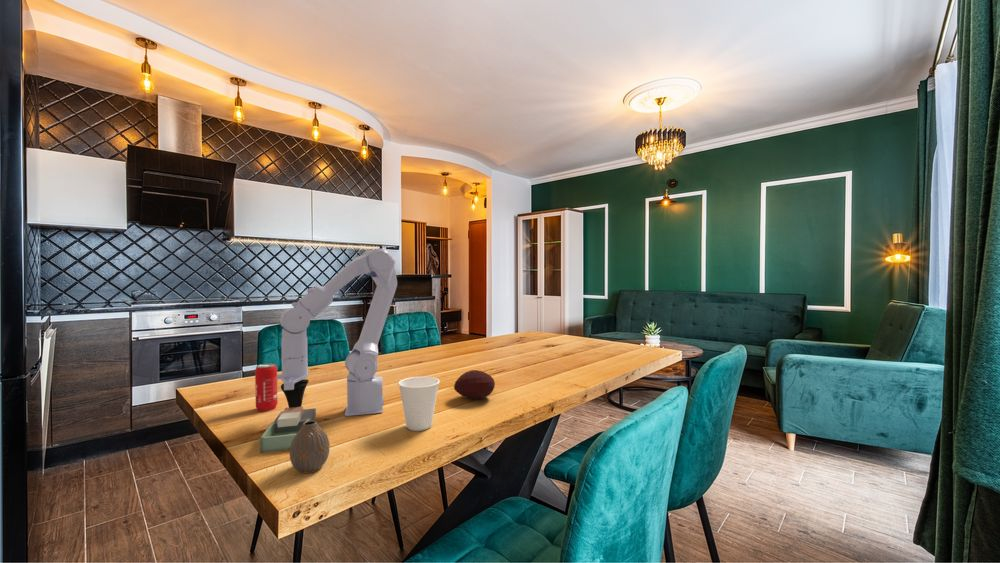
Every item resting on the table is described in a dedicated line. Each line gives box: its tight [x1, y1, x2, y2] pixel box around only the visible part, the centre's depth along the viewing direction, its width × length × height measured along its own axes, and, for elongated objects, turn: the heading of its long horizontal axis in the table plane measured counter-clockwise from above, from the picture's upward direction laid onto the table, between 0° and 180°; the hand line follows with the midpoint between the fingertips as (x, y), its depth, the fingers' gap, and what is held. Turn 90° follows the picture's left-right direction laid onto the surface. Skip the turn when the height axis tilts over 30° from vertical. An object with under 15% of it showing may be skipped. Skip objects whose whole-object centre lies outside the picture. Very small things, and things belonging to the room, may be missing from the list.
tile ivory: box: [278, 412, 301, 427], centre depth 93 cm, size 4×4×2 cm
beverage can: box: [254, 363, 279, 412], centre depth 110 cm, size 5×5×12 cm
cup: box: [397, 376, 440, 432], centre depth 97 cm, size 10×10×11 cm
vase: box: [289, 420, 331, 474], centre depth 77 cm, size 7×7×9 cm
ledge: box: [273, 407, 317, 433], centre depth 98 cm, size 8×9×2 cm
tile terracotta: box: [282, 406, 304, 417], centre depth 97 cm, size 4×4×2 cm
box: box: [259, 419, 310, 454], centre depth 89 cm, size 8×10×3 cm
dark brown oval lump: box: [453, 369, 496, 400], centre depth 119 cm, size 12×11×8 cm
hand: (295, 411), depth 100 cm, fingers closed
